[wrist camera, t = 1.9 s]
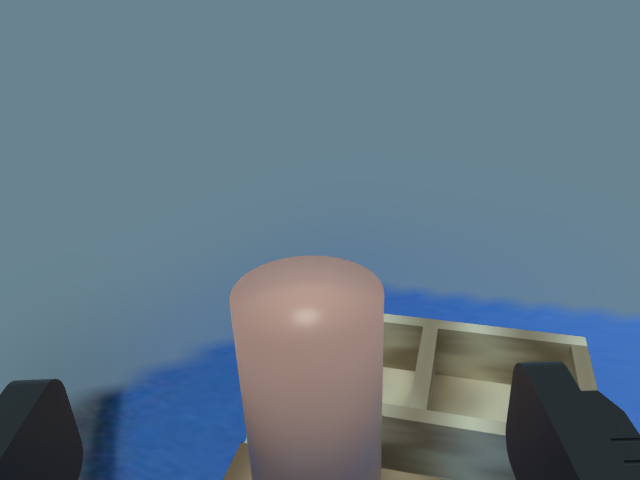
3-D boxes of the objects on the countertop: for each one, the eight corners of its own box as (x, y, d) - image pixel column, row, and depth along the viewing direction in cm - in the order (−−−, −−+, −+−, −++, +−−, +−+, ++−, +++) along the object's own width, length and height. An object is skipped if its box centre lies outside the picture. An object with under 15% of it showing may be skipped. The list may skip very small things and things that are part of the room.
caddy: (254, 454, 37) (246, 394, 34) (299, 357, 45) (295, 303, 43) (595, 518, 32) (612, 452, 29) (573, 395, 40) (585, 337, 38)
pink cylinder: (241, 573, 27) (203, 327, 21) (281, 471, 32) (261, 250, 26) (367, 603, 25) (368, 349, 19) (388, 492, 31) (394, 262, 24)
